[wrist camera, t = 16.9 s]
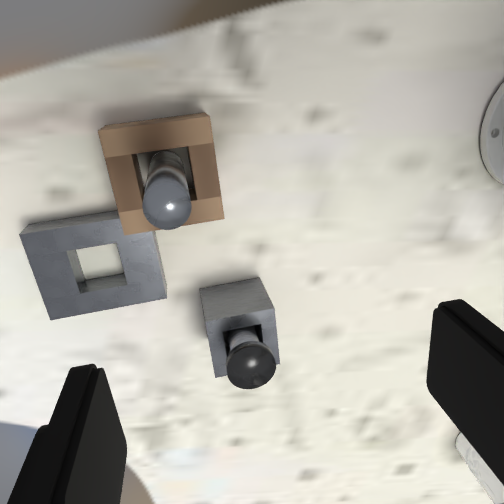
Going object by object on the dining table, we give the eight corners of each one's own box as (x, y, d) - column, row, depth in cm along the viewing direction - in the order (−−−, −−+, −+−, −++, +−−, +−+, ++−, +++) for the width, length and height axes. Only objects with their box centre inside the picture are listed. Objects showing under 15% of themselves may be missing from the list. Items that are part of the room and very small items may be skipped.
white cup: (482, 460, 59) (540, 528, 50) (440, 454, 57) (493, 525, 48) (512, 418, 57) (578, 482, 48) (469, 410, 54) (530, 476, 45)
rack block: (204, 112, 33) (209, 116, 30) (218, 205, 37) (224, 218, 33) (105, 125, 32) (97, 130, 29) (128, 219, 36) (124, 235, 32)
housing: (259, 277, 40) (274, 308, 35) (265, 327, 43) (279, 363, 37) (199, 288, 39) (205, 321, 34) (208, 339, 42) (215, 377, 36)
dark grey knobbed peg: (251, 290, 40) (273, 343, 32) (256, 324, 42) (278, 383, 34) (211, 298, 40) (223, 354, 31) (217, 332, 41) (230, 393, 33)
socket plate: (149, 205, 35) (148, 213, 33) (166, 285, 39) (166, 298, 36) (28, 224, 34) (19, 234, 32) (57, 305, 37) (50, 320, 35)
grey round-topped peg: (180, 148, 34) (187, 179, 23) (186, 181, 35) (195, 225, 24) (146, 153, 34) (137, 187, 23) (153, 186, 35) (148, 233, 24)
